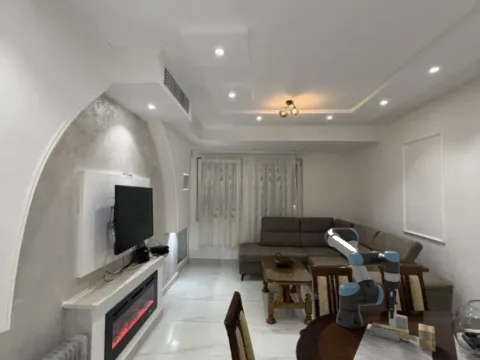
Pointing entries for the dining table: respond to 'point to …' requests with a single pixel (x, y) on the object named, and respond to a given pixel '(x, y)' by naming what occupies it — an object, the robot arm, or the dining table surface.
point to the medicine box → (401, 321)
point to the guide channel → (384, 333)
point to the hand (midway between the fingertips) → (392, 320)
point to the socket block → (427, 337)
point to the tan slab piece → (394, 329)
